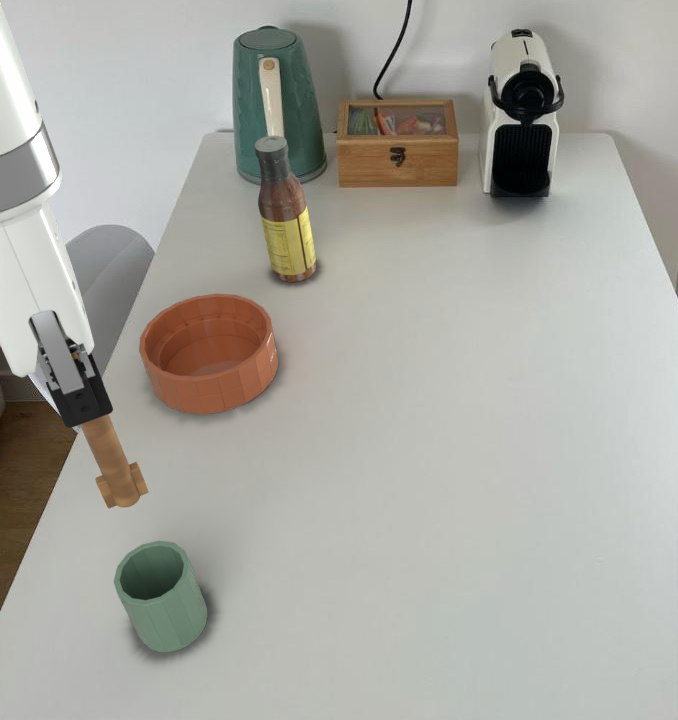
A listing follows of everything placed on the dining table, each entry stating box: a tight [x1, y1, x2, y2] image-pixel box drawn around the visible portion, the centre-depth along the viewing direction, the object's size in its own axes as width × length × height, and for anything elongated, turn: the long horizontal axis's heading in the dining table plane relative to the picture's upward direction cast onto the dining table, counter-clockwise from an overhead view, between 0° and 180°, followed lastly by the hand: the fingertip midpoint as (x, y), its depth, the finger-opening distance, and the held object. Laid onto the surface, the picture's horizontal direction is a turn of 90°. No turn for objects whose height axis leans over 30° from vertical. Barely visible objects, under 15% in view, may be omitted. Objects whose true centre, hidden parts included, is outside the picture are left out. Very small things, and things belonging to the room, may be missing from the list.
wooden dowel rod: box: [71, 352, 150, 509], centre depth 57 cm, size 3×2×16 cm, turn 118°
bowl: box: [138, 293, 279, 415], centre depth 96 cm, size 15×15×6 cm
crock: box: [113, 540, 208, 653], centre depth 71 cm, size 6×6×8 cm
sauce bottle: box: [254, 135, 317, 283], centre depth 106 cm, size 6×6×20 cm
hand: (85, 404), depth 56 cm, fingers closed on wooden dowel rod, 2 cm apart
